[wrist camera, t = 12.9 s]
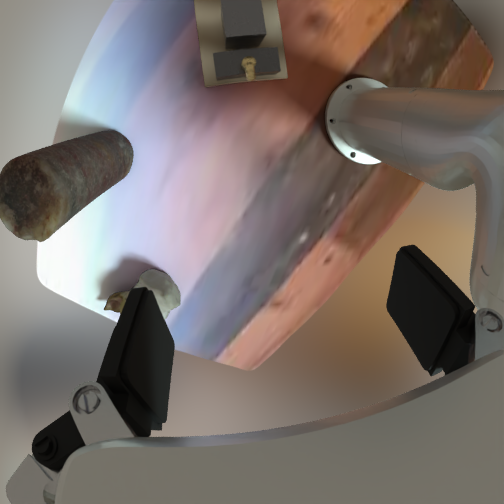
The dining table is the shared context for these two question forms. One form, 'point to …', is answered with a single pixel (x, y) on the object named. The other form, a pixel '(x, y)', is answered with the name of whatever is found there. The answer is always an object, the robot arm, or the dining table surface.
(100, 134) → the candle
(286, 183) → the dining table surface
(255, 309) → the dining table surface
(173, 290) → the ceramic sculpture
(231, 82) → the rail board
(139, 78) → the dining table surface
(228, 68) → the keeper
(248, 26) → the dark grey block
